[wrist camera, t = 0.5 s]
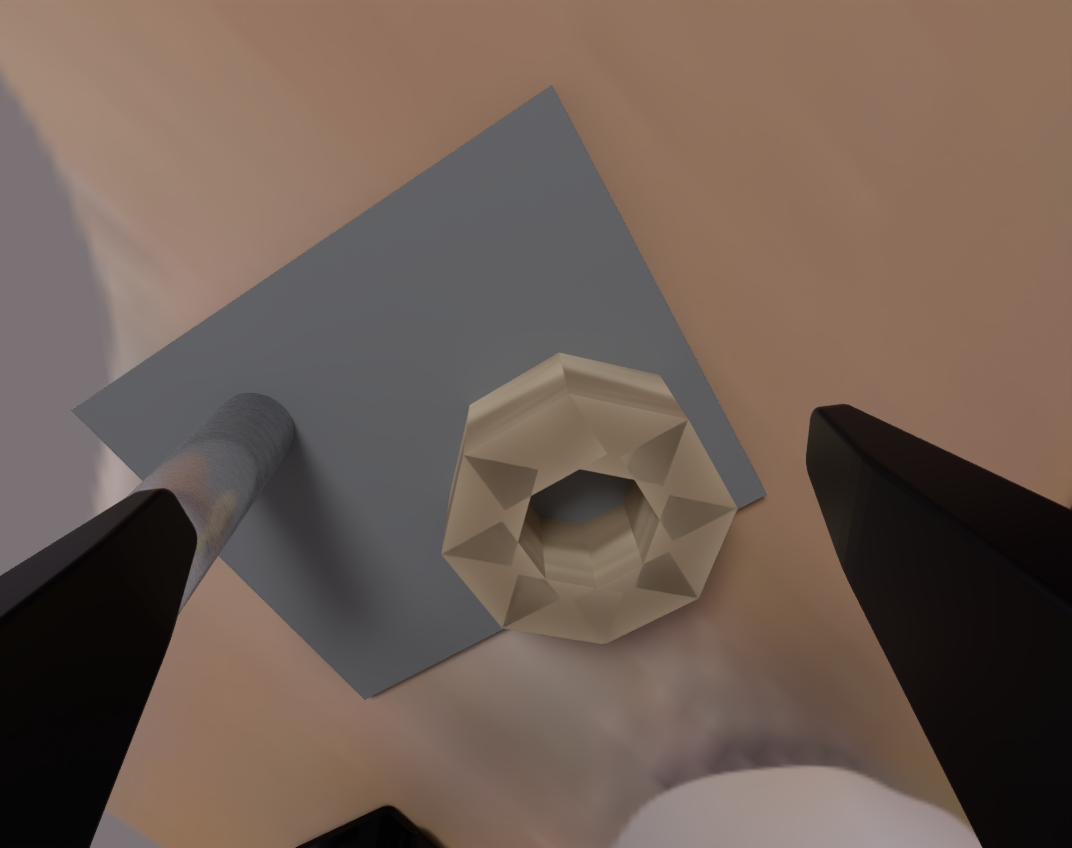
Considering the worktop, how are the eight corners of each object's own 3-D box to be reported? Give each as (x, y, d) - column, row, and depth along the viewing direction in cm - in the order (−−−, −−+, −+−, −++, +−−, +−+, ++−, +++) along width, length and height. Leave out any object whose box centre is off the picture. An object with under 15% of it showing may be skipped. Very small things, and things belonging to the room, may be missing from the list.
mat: (367, 689, 30) (364, 699, 29) (81, 404, 23) (71, 410, 23) (761, 486, 26) (766, 494, 26) (550, 86, 20) (552, 84, 19)
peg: (252, 474, 24) (102, 678, 15) (200, 417, 23) (5, 599, 14) (311, 438, 24) (192, 627, 15) (260, 378, 23) (98, 541, 14)
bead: (536, 603, 28) (541, 675, 24) (409, 440, 24) (392, 495, 20) (731, 503, 26) (768, 564, 22) (625, 313, 22) (649, 348, 19)
